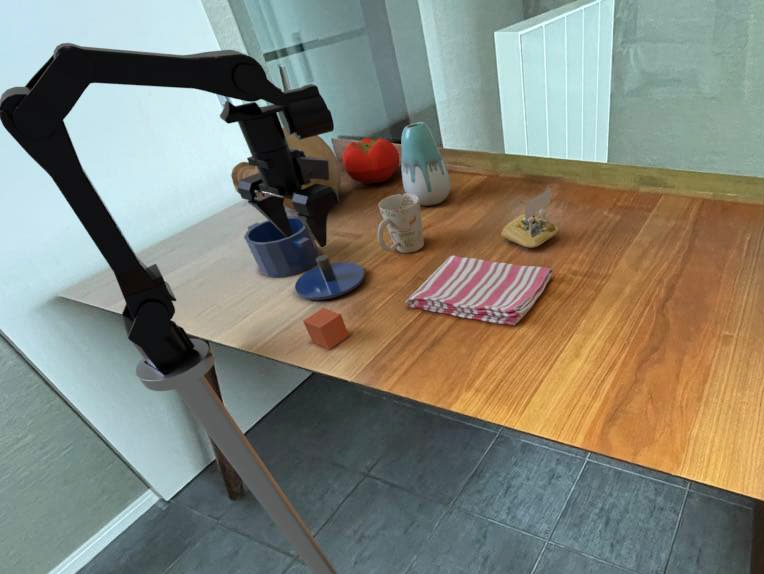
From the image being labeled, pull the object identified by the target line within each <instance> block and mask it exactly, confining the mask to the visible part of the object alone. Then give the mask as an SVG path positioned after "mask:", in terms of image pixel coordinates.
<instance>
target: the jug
mask: <svg viewBox="0 0 764 574" xmlns="http://www.w3.org/2000/svg"><path fill="white" fill-rule="evenodd" d="M282 129H283V132H284V134H285V137H286V140H287V142H288V145H289V148H290V149H296V150H302V151H303V152H304V154H305V156H306V157H313V158H319V159H324V160H328V162H329V180H324V179H310V180H311V183H309V184H307V185H302V188H301V189H305V188H307V187H309V186H311V185H313V184H321V185H326V186H330V187H332V188H333V189H335V190H336V191H337V195H338V194H339V192H340V187H341V183H342V182H341V170H340V166H339V161H338V159H337V157H336V154H335V153H334V151H333V149H332V148H331V147H330V145H328V144H327V142H326V141H325V140H324V139H323V138H322V137H321V136H320V135H316V136H312V137H308V138H305V139H301V140H298V139H297V138H296V137H295V135H294V134H291V135H289V134H288V133H287V132H286V130H285V128H284V127H282ZM256 173H259V172H258V169H257V167H256V166H253V165H250V164H249V162H248V161H241V162H239V163H238V164H236V165H234V167H233V168H232V170H231V175H230V177H231V179H232V184H233V188H234V190H235V192H237V193H238V194H239V195H240V193H239V191H238V188H237V187H238V183H239V180H241V179H244V178H246V177H249V176H251V175H254V174H256ZM283 204H284V207H285V208H288V209H292V210H296V209H295V208H294V206H293V203H292V199H288V198H284V202H283ZM296 211H297V210H296Z"/></svg>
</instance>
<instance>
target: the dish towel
mask: <svg viewBox="0 0 764 574" xmlns="http://www.w3.org/2000/svg"><path fill="white" fill-rule="evenodd" d="M553 272H554V269H553V268H551V267H543V266H534V265H532V266H530V265H516V264H513V263H506V262H498V261H487V260H484V259H479V258H475V257H462V256H456V255H453V254H452V255H450V256H449V257H448V258H447V259H446V260H445V261H444V262H443V263H442V264H441V265H440V266H439V267H438V268H437V269H436V270H434V272H433V273H432V274H431V275H430V276H429V277H428V278H427V279H426V280H425V281H424V282H423V283H422V284H421V285H420V286H419V287H418V289H416V290H415V291H414V292H413V293H412V294H410V295H409V296H408V298H407V299H406V300H405V303H406V305H407V306H409V307H410V308H412V309H418V310H419V309H420V310H424V311H427V312H428V311H429V312H433V313H439V314H446V315H450V316H454V317H458V318H462V319H469V320H476V321H482V322H485V323H492V324H498V325H509V326H513V327H514V326H516V325H517V323H518V322H520V321H521V319H523V318H524V316H526V314H527V313H528V312H529V311H530V310H531V309H532V307H533V306H534V304H535V303H536V301H537V299H538V298H539V297H540V296H541V294H542V293H543V292H544V291H545V288H546V286H547V284H548V282H549V281H550V279H551V276H552V275H553Z"/></svg>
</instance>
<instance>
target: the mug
mask: <svg viewBox="0 0 764 574" xmlns="http://www.w3.org/2000/svg"><path fill="white" fill-rule="evenodd" d="M378 209H379V211H380V214H381V216H382V219H383V220H381V221H380V223H379V224H378V228H377V241H378V244H379V246H380V248H381V249H382V250H384V251H385V252H393V251H395V250H396V251H398V252H399V253H403V254H409V253H415V252H417V251H420V250H421V249H422V248H423V247H424V245H425V239H424V231H423V221H422V213H421V205H420V203H419V198H418V197H417V196H416V195H413V194H406V193H398V194H393V195H390V196H387V197H385V198H383V199H382V200H381V201H379V203H378ZM385 228H387V230H388V233H389V235H390V237H391V239H392V242H393V244H392V245H391V246H388V245H387V244H386V242H385V240H384V236H383V235H384V229H385Z"/></svg>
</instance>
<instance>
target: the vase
mask: <svg viewBox="0 0 764 574" xmlns="http://www.w3.org/2000/svg"><path fill="white" fill-rule="evenodd" d="M400 141H401V142H400V143H401V146H400V147H401V165H400V166H401V181H402V186H403V189H404V192H405V194H413V195H416V196H417V197H418V198H419V203H420V206H422V207H430V206H435V205H439V204H441V203H443V202H444V201H445V200H446V199H447V198H448V196H449V194H450V192H451V185H452V184H451V183H452V182H451V176H450V173H449V170H448V167H447V163H446V162H445V160H444V158H443V155H442V153H441V151H440V149H439V147H438V145H437V143H436V140H435V137H434V135H433V133H432V131H431V129H430V128H429V126H428V125H427V124H426V123H425V121H418V122H414V123H410V124H408V125H405V127H404V128H403V130H402V133H401V140H400Z"/></svg>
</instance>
